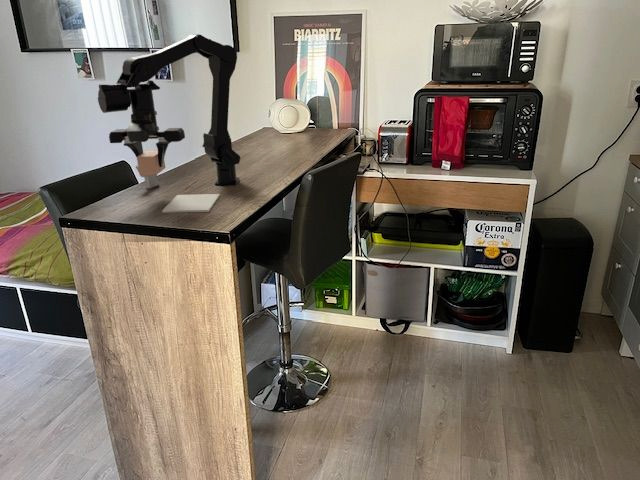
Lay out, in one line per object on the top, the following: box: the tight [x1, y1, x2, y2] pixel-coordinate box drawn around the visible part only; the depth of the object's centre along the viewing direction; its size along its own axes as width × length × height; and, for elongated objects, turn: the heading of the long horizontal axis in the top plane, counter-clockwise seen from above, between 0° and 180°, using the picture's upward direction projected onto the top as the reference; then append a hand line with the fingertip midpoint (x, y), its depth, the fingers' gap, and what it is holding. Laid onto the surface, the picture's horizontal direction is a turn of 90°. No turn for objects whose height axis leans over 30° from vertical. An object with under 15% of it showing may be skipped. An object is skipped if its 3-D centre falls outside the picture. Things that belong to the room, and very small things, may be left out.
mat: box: [161, 193, 221, 214], centre depth 135 cm, size 14×12×1 cm
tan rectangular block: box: [136, 149, 166, 176], centre depth 137 cm, size 8×4×5 cm, turn 179°
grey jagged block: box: [135, 163, 159, 189], centre depth 150 cm, size 7×2×8 cm, turn 161°
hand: (152, 167), depth 137 cm, fingers closed on tan rectangular block, 4 cm apart
